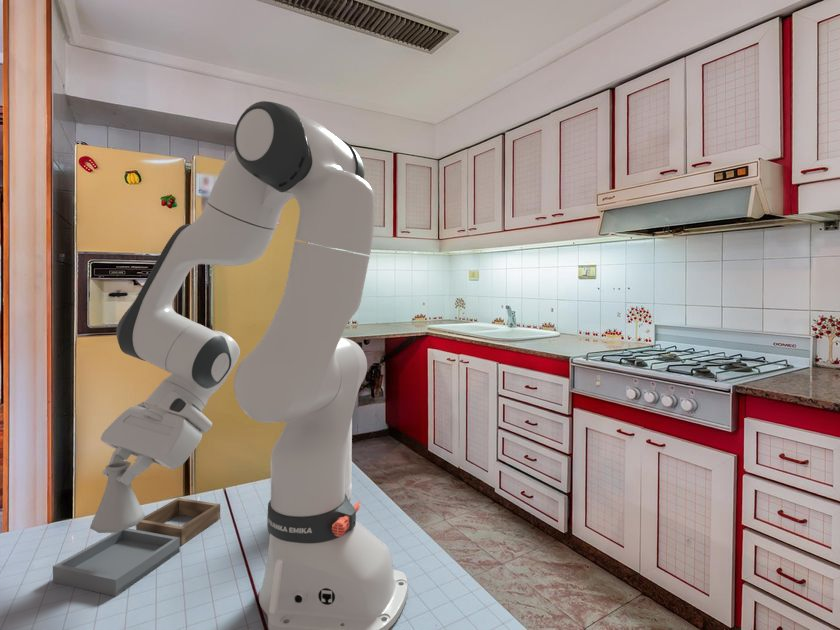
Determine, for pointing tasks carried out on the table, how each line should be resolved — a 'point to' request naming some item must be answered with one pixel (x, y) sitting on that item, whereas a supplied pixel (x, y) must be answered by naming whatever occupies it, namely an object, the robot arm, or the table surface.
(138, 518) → the flask
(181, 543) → the shaker holder
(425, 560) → the table surface
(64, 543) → the table surface
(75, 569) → the tray
